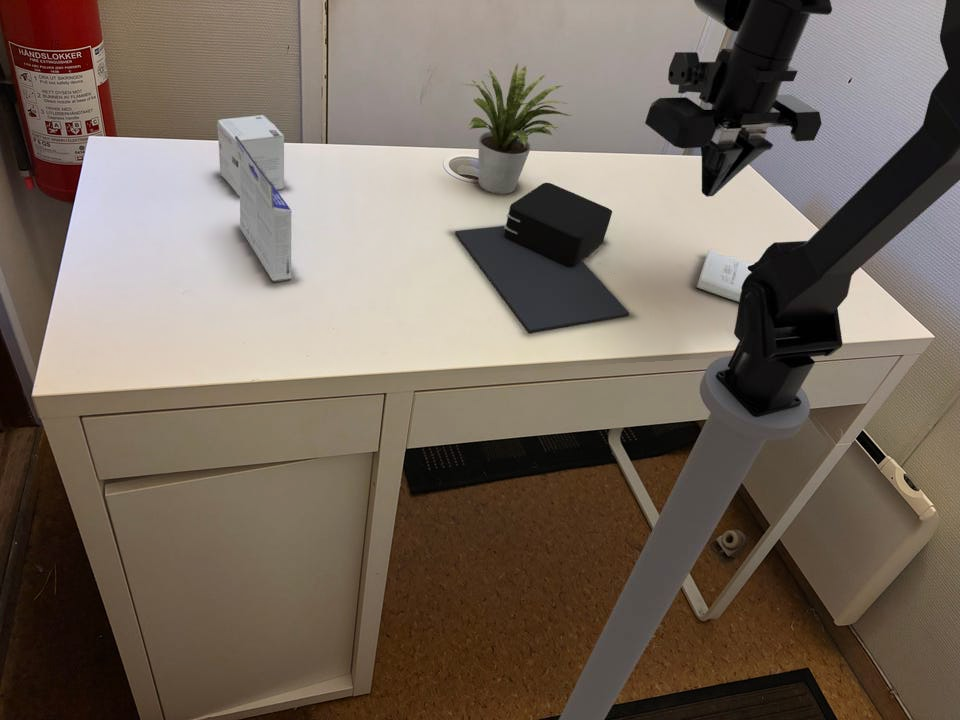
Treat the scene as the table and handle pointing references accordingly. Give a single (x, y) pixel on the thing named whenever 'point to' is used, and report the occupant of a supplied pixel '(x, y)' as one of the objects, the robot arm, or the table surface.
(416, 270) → the table surface
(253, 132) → the white cardboard box
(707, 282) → the hard drive
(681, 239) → the table surface
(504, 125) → the house plant
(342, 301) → the table surface
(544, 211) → the electronic device
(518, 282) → the mat
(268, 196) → the ink box
